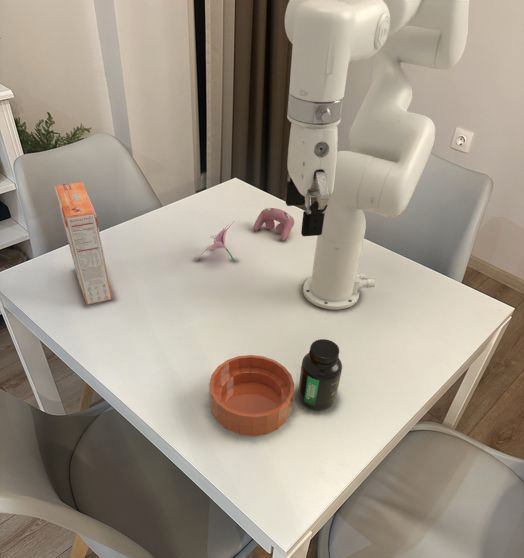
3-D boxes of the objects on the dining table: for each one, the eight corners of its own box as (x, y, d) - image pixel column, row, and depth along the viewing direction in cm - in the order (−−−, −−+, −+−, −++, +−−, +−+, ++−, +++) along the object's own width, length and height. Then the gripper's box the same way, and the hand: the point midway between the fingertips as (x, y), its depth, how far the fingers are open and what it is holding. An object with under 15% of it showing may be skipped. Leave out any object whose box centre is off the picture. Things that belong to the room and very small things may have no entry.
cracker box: (73, 271, 117) (53, 184, 103) (100, 266, 119) (83, 180, 105) (84, 306, 108) (63, 216, 94) (113, 300, 110) (97, 211, 96)
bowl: (281, 372, 97) (283, 351, 93) (300, 432, 87) (303, 410, 83) (205, 381, 94) (204, 359, 90) (216, 443, 84) (215, 421, 80)
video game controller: (290, 241, 135) (298, 215, 132) (283, 241, 130) (291, 214, 128) (259, 230, 138) (266, 204, 136) (250, 229, 134) (258, 202, 132)
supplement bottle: (310, 417, 89) (319, 368, 81) (290, 391, 93) (296, 341, 85) (342, 404, 92) (354, 355, 84) (321, 379, 96) (330, 330, 88)
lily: (234, 245, 131) (216, 212, 126) (260, 248, 122) (242, 213, 117) (200, 273, 127) (179, 241, 122) (224, 279, 118) (203, 245, 113)
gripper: (362, 130, 66) (342, 246, 78) (322, 87, 78) (310, 193, 90) (305, 132, 65) (294, 249, 76) (274, 88, 77) (268, 195, 88)
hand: (302, 219), depth 83 cm, fingers open, 9 cm apart
